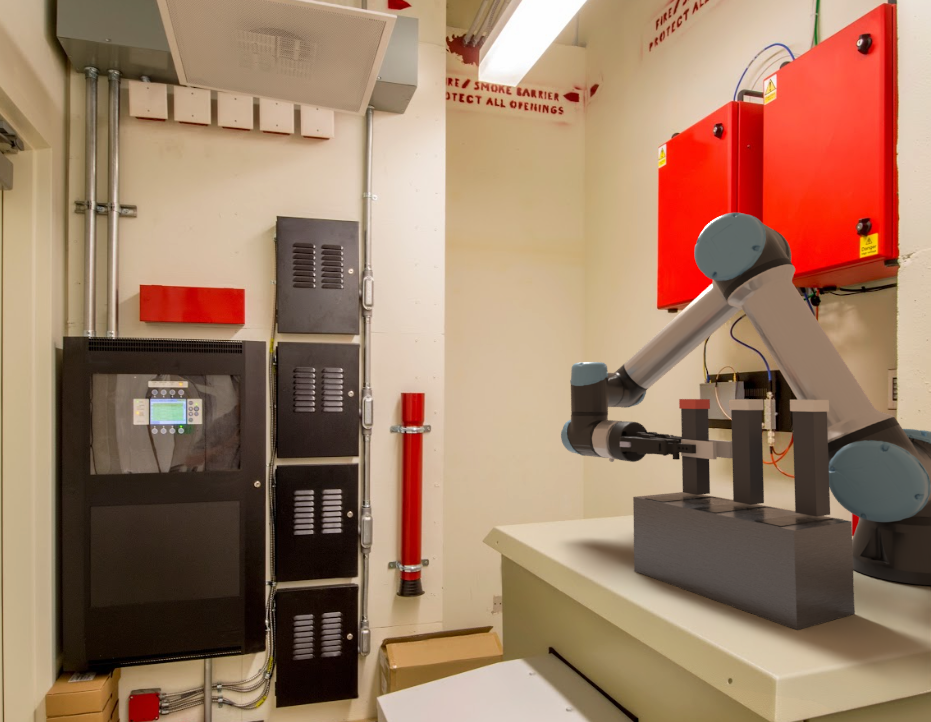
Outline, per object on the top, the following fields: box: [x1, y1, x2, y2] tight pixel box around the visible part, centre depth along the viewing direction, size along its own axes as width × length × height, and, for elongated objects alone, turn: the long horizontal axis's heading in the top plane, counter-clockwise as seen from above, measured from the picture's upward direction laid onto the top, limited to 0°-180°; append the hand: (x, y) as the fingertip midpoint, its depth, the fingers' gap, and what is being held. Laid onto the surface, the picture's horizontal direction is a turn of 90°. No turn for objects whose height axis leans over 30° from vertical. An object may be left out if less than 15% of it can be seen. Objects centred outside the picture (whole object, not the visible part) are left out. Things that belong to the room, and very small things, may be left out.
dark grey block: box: [632, 491, 856, 631], centre depth 89 cm, size 28×12×12 cm, turn 28°
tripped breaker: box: [678, 398, 711, 495], centre depth 101 cm, size 3×3×16 cm
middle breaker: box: [728, 398, 765, 505], centre depth 92 cm, size 3×3×16 cm
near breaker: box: [789, 399, 831, 517], centre depth 83 cm, size 3×3×16 cm
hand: (722, 450), depth 96 cm, fingers closed on tripped breaker, 3 cm apart
